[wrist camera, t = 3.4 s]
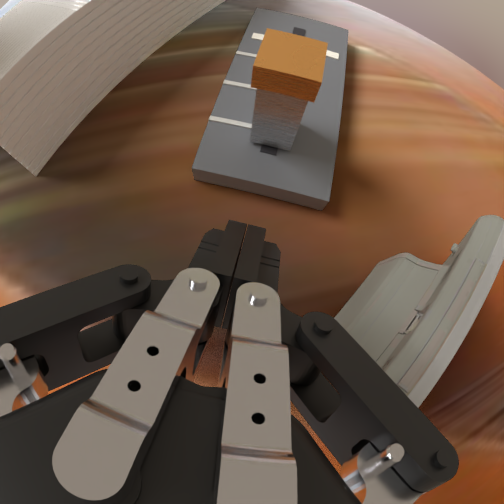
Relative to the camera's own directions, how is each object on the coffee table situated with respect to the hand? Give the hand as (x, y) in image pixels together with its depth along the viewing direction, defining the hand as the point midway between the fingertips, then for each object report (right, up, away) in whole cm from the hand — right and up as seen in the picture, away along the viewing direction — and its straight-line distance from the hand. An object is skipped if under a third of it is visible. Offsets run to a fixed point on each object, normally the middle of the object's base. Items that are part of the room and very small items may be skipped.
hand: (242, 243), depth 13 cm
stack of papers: (-14, +22, +14) cm, 30 cm away
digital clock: (+10, -7, +10) cm, 16 cm away
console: (+3, +14, +13) cm, 20 cm away
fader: (+2, +9, +10) cm, 13 cm away
